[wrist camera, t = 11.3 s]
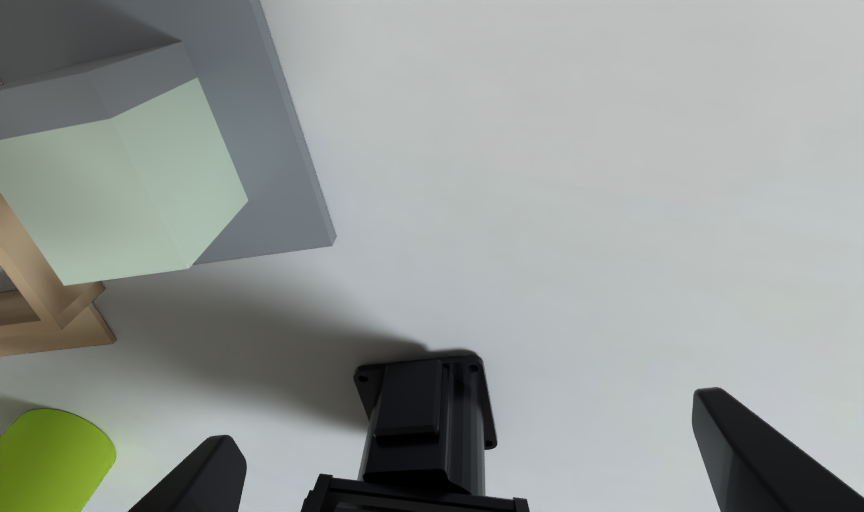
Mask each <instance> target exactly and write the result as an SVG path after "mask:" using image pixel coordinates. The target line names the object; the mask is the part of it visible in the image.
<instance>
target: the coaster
mask: <svg viewBox="0 0 864 512" xmlns="http://www.w3.org/2000/svg"><path fill="white" fill-rule="evenodd" d="M181 41H183V44H184V46H185V48H186V51H187V53H188V56H189V58H190V61H191V63H192V65H193V68H194V70H195V73H196V75H197V77H198V80H199V82H200V85H201V87H202V90H203V92H204V94H205V97H206V99H207V102H208V104H209V106H210V109H211V111H212V114H213V116H214V119H215V121H216V123H217V126H218V128H219V131H220V133H221V135H222V138H223V140H224V143H225V145H226V148H227V150H228V152H229V155H230V157H231V160H232V162H233V164H234V167H235V169H236V172H237V174H238V176H239V179H240V181H241V184H242V186H243V189H244V191H245V193H246V196H247V198H248V202H247V203H246V204H245V205H244V206H243V207H242V209H241V210H240V211H239V212H238V213H237V214H236V215H235V217H234V218H233V219H232V220H231V221H230V222H229V223H228V224H227V226H226V227H225V228H224V229H223V230H222V231H221V232H220V234H219V235H218V236H217V237H216V238H215V239H214V240H213V242H212V243H211V244H210V245H209V246H208V247H207V248H206V249H205V251H204V252H203V253H202V254H201V255H200V256H199V257H198V259H197V260H196V261H195V262H194V263H193V264H192V265H196V264H203V263H210V262H218V261H225V260H232V259H240V258H247V257H255V256H262V255H269V254H277V253H284V252H291V251H299V250H306V249H313V248H321V247H328V246H332V245H333V243H334V241H335V239H336V237H337V236H336V233H335V230H334V227H333V224H332V221H331V218H330V215H329V212H328V209H327V206H326V202H325V199H324V196H323V193H322V190H321V187H320V184H319V181H318V178H317V175H316V172H315V169H314V166H313V163H312V160H311V157H310V154H309V150H308V147H307V144H306V141H305V138H304V135H303V132H302V129H301V126H300V123H299V120H298V117H297V114H296V111H295V108H294V105H293V102H292V98H291V95H290V92H289V89H288V86H287V83H286V80H285V77H284V74H283V71H282V68H281V65H280V62H279V59H278V56H277V53H276V50H275V46H274V43H273V40H272V37H271V34H270V31H269V28H268V25H267V22H266V19H265V16H264V13H263V10H262V7H261V4H260V1H259V0H0V79H1V81H2V82H3V84H7V83H10V82H14V81H17V80H20V79H24V78H27V77H31V76H34V75H37V74H41V73H44V72H48V71H51V70H55V69H58V68H61V67H65V66H69V65H73V64H78V63H83V62H87V61H92V60H97V59H101V58H106V57H111V56H115V55H120V54H125V53H129V52H134V51H139V50H144V49H148V48H153V47H158V46H162V45H167V44H172V43H176V42H181Z"/></svg>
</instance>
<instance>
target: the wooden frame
mask: <svg viewBox="0 0 864 512" xmlns="http://www.w3.org/2000/svg"><path fill="white" fill-rule="evenodd" d="M0 266H1V267H2V268H3V270H4V271H5V272H6V274H7V275H8V276H9V278H10V279H11V280H12V282H13V283H14V284H15V286H16V287H17V288H18V290H14V291H7V292H0V356H7V355H16V354H25V353H34V352H43V351H52V350H61V349H69V348H78V347H87V346H96V345H105V344H113V343H114V342H115V341H116V338H115V337H114V335H113V334H112V332H111V330H110V329H109V327H108V326H107V324H106V323H105V321H104V320H103V318H102V317H101V315H100V314H99V312H98V311H97V309H96V308H95V306H94V305H93V303H92V301H94V300H95V299H96V298H97V297H98V296H99V295H100V294H101V293H102V292H103V291H104V290H105V288H104V287H103V285H102V283H101V282H100V281H95V282H88V283H81V284H73V285H66V286H64V285H63V283H62V282H61V280H60V279H59V278H58V276H57V275H56V273H55V272H54V270H53V269H52V267H51V266H50V264H49V263H48V261H47V260H46V259H45V257H44V256H43V254H42V253H41V251H40V250H39V248H38V247H37V245H36V244H35V242H34V241H33V240H32V238H31V237H30V235H29V234H28V232H27V231H26V229H25V228H24V226H23V225H22V223H21V222H20V221H19V219H18V218H17V216H16V215H15V213H14V212H13V210H12V209H11V207H10V206H9V204H8V203H7V202H6V200H5V199H4V197H3V196H2V194H1V193H0Z"/></svg>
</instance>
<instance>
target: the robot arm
mask: <svg viewBox="0 0 864 512" xmlns="http://www.w3.org/2000/svg"><path fill="white" fill-rule="evenodd" d="M470 365H476V366H474V367H472V366H470ZM362 375H365V376H367V377H365V376H362ZM354 381H355V384H356V387H357V389H358V392H359V395H360V398H361V400H362V403H363V406H364V408H365V411H366V414H367V417H368V419H369V427H368V432H367V436H366V441H365V446H364V451H363V455H362V460H361V465H360V469H359V474H358V479H357V480H349V479H341V478H333V475H327V474H319V477H318V479H317V482H316V484H315V487H314V489H313V490H310V491H309V494H308V496H307V498H305V499H304V503H303V506H302V509H301V512H530V511H529V507H528V503H527V499H523V498H515V497H513V500H512V499H504V498H496V497H488V496H485V459H484V450H490V449H493V448H495V447H496V446H497V434H496V429H495V423H494V418H493V412H492V407H491V402H490V396H489V391H488V385H487V380H486V374H485V369H484V363H483V360H482V359H481V358H480V357H479V356H476V355H468V356H457V357H447V358H436V359H426V360H416V361H405V362H395V363H385V364H374V365H364V366H359V367H358V368H356V370H355V373H354ZM692 427H693V431H694V435H695V438H696V441H697V444H698V447H699V450H700V452H701V455H702V458H703V461H704V464H705V467H706V470H707V473H708V476H709V479H710V482H711V485H712V488H713V491H714V494H715V496H716V499H717V502H718V505H719V508H720V511H721V512H864V497H862V496H861V495H860V494H858V493H857V492H856V491H855V490H853V489H852V488H851V487H849V486H848V485H847V484H846V483H844V482H843V481H842V480H840V479H839V478H838V477H836V476H835V475H834V474H833V473H831V472H830V471H829V470H827V469H826V468H825V467H823V466H822V465H821V464H820V463H818V462H817V461H816V460H814V459H813V458H812V457H810V456H809V455H808V454H807V453H805V452H804V451H803V450H801V449H800V448H799V447H797V446H796V445H795V444H794V443H792V442H791V441H790V440H788V439H787V438H786V437H784V436H783V435H782V434H781V433H779V432H778V431H777V430H775V429H774V428H773V427H772V426H770V425H769V424H768V423H766V422H765V421H764V420H762V419H761V418H760V417H759V416H757V415H756V414H755V413H753V412H752V411H751V410H749V409H748V408H747V407H746V406H744V405H743V404H742V403H740V402H739V401H738V400H736V399H735V398H734V397H733V396H731V395H730V394H729V393H727V392H726V391H725V390H723V389H721V388H718V387H713V388H702V389H697V390H696V391H695V392H694V396H693V410H692ZM246 470H247V465H246V460H245V458H244V456H243V454H242V453H241V451H240V449H239V448H238V446H237V445H236V443H235V441H234V440H233V438H232V437H231V436H229V435H218V436H211V437H209V438H207V439H206V440H205V441H204V442H202V443H201V444H200V445H199V446H198V447H197V448H196V449H195V450H194V451H193V452H192V453H191V454H189V455H188V456H187V457H186V458H185V459H184V460H183V461H182V462H181V463H180V464H179V465H178V466H176V467H175V468H174V469H173V470H172V471H171V472H170V473H169V474H168V475H167V476H166V477H165V478H163V479H162V480H161V481H160V482H159V483H158V484H157V485H156V486H155V487H154V488H153V489H152V490H150V491H149V492H148V493H147V494H146V495H145V496H144V497H143V498H142V499H141V500H140V501H139V502H137V503H136V504H135V505H134V506H133V507H132V508H131V509H130V510H129V511H128V512H238V509H239V504H240V499H241V495H242V490H243V485H244V481H245V476H246Z"/></svg>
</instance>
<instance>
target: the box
mask: <svg viewBox="0 0 864 512" xmlns="http://www.w3.org/2000/svg"><path fill="white" fill-rule="evenodd" d="M0 193H1V194H2V196H3V197H4V199H5V200H6V202H7V203H8V204H9V206H10V207H11V209H12V210H13V212H14V213H15V215H16V216H17V218H18V219H19V221H20V222H21V223H22V225H23V226H24V228H25V229H26V231H27V232H28V234H29V235H30V237H31V238H32V240H33V241H34V242H35V244H36V245H37V247H38V248H39V250H40V251H41V253H42V254H43V256H44V257H45V259H46V260H47V261H48V263H49V264H50V266H51V267H52V269H53V270H54V272H55V273H56V275H57V276H58V278H59V279H60V280H61V282H62V283H63V285H64V286H66V285H73V284H81V283H88V282H95V281H103V280H110V279H117V278H125V277H132V276H139V275H147V274H154V273H161V272H169V271H176V270H183V269H189V268H190V267H191V265H192V264H193V263H194V262H195V261H196V260H197V259H198V257H199V256H200V255H201V254H202V253H203V252H204V251H205V249H206V248H207V247H208V246H209V245H210V244H211V243H212V242H213V240H214V239H215V238H216V237H217V236H218V235H219V234H220V232H221V231H222V230H223V229H224V228H225V227H226V226H227V224H228V223H229V222H230V221H231V220H232V219H233V218H234V217H235V215H236V214H237V213H238V212H239V211H240V210H241V209H242V207H243V206H244V205H245V204H246V203H247V202H248V198H247V196H246V193H245V191H244V189H243V186H242V184H241V181H240V179H239V176H238V174H237V172H236V169H235V167H234V164H233V162H232V160H231V157H230V155H229V152H228V150H227V148H226V145H225V143H224V140H223V138H222V135H221V133H220V131H219V128H218V126H217V123H216V121H215V119H214V116H213V114H212V111H211V109H210V106H209V104H208V102H207V99H206V97H205V94H204V92H203V90H202V87H201V85H200V82H199V80H198V77H197V75H196V73H195V70H194V68H193V65H192V63H191V61H190V58H189V56H188V53H187V51H186V48H185V46H184V44H183V41H181V42H176V43H172V44H167V45H162V46H158V47H153V48H148V49H144V50H139V51H134V52H129V53H125V54H120V55H115V56H111V57H106V58H101V59H97V60H92V61H87V62H83V63H78V64H73V65H69V66H65V67H61V68H58V69H55V70H51V71H48V72H44V73H41V74H37V75H34V76H31V77H27V78H24V79H20V80H17V81H14V82H10V83H7V84H3V85H0Z"/></svg>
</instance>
